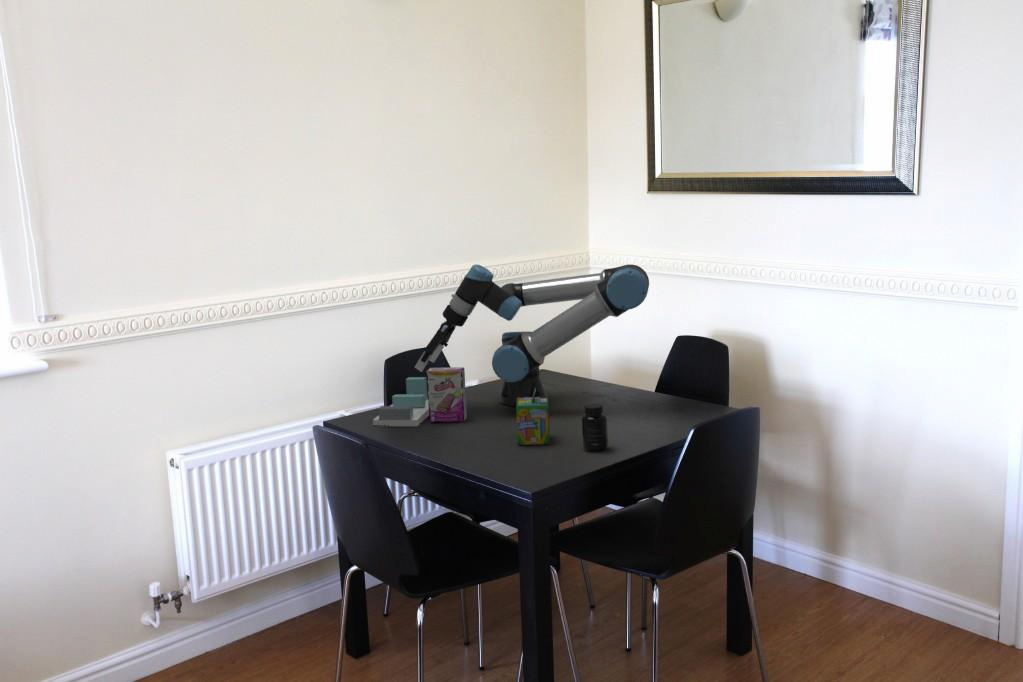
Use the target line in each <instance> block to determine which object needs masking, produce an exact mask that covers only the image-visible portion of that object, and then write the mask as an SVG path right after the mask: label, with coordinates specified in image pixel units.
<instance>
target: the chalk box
mask: <svg viewBox="0 0 1023 682" xmlns="http://www.w3.org/2000/svg"><path fill="white" fill-rule="evenodd" d="M535 394H536V388H535V389H534V393H533V397H526V398H517V404H516V406H515V407H516V408H515V409H516V427H517V428H516V430H517V446H530V445H532V446H534V445H537V446H540V445H550V444H551V438H550V437H551V433H550V430H551V429H550V408H549V407H550V406H549V401H550V400H549V396H546V397H535Z"/></svg>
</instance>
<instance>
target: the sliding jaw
mask: <svg viewBox="0 0 1023 682" xmlns="http://www.w3.org/2000/svg"><path fill="white" fill-rule="evenodd" d="M405 385H406V386H405V387H406V388H405V389H406V394H404V393H403V394H400V393H399V394H394V395H392V396H391V400H392V404H393V406H413V407H424V406H425V405H426V402H425V400H426V399H428V388H427V376H425V377H424V376H422V377H421V376H419V377H417V376H416V377H415V376H411V377H407V378H406V379H405Z"/></svg>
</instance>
